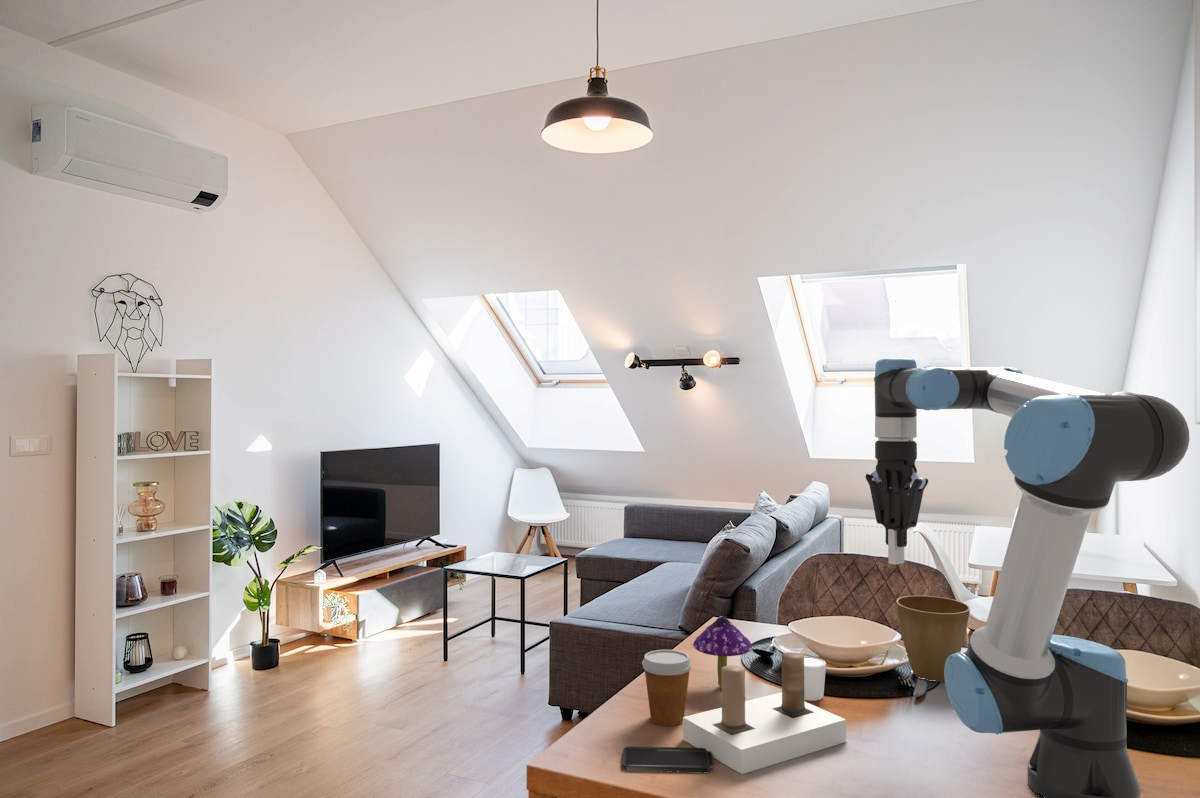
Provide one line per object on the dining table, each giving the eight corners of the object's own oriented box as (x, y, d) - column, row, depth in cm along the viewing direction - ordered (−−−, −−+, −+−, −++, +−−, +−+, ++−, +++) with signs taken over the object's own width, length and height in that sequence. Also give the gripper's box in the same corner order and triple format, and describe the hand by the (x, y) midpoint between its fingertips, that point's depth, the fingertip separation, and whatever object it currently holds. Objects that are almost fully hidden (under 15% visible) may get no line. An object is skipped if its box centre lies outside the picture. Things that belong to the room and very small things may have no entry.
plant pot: (898, 684, 176) (898, 609, 176) (895, 663, 190) (894, 593, 190) (974, 691, 171) (974, 614, 171) (965, 669, 186) (965, 597, 185)
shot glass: (827, 702, 166) (827, 667, 166) (792, 700, 167) (792, 665, 167) (825, 690, 173) (825, 657, 173) (791, 688, 174) (791, 655, 174)
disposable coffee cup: (634, 723, 156) (633, 660, 156) (654, 706, 164) (654, 646, 164) (681, 733, 151) (680, 667, 151) (699, 715, 160) (699, 653, 160)
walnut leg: (810, 734, 151) (809, 657, 150) (793, 739, 148) (792, 661, 148) (793, 726, 154) (793, 651, 154) (776, 731, 152) (776, 654, 152)
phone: (713, 768, 135) (621, 766, 136) (713, 775, 135) (621, 772, 136) (710, 747, 143) (623, 745, 144) (710, 754, 143) (623, 752, 144)
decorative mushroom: (750, 677, 180) (749, 609, 180) (755, 699, 168) (754, 625, 168) (692, 676, 182) (692, 608, 182) (693, 697, 169) (692, 623, 169)
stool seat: (846, 741, 147) (845, 663, 147) (741, 774, 135) (741, 688, 135) (782, 712, 161) (782, 640, 161) (682, 739, 149) (682, 661, 148)
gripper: (938, 440, 154) (938, 566, 155) (881, 437, 166) (882, 555, 166) (911, 441, 151) (911, 571, 151) (855, 438, 162) (855, 559, 162)
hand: (896, 563), depth 158 cm, fingers closed
